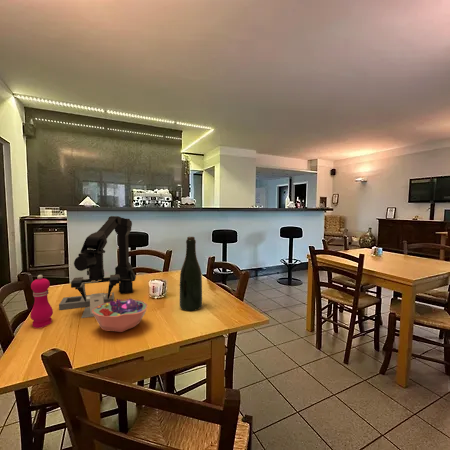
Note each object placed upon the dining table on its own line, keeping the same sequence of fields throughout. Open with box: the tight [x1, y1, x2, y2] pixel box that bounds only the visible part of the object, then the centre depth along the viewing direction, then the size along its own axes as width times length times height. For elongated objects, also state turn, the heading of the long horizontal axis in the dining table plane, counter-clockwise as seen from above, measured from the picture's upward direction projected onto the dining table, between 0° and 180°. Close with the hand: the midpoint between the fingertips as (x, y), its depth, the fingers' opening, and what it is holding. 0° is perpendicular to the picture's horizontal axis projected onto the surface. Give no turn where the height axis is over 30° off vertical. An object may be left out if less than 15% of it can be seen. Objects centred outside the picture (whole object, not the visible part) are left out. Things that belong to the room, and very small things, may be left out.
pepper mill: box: [29, 274, 54, 329], centre depth 102 cm, size 7×7×20 cm
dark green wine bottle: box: [179, 236, 203, 312], centre depth 120 cm, size 10×10×33 cm
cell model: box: [92, 298, 148, 333], centre depth 100 cm, size 17×20×11 cm
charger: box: [90, 292, 105, 314], centre depth 114 cm, size 5×5×7 cm
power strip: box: [58, 292, 115, 311], centre depth 123 cm, size 22×9×4 cm, turn 111°
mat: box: [81, 307, 95, 319], centre depth 115 cm, size 11×11×1 cm
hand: (97, 299), depth 114 cm, fingers open, 9 cm apart
